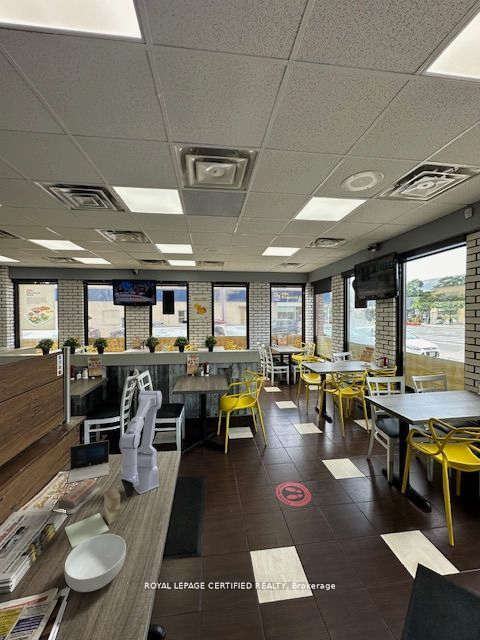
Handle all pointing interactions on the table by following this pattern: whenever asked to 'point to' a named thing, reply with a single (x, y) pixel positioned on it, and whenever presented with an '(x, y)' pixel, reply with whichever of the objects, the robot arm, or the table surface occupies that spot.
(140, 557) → the table surface
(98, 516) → the mat
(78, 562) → the cereal bowl
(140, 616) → the table surface
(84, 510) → the table surface
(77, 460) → the laptop
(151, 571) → the table surface
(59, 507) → the packaged product
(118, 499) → the birch block
